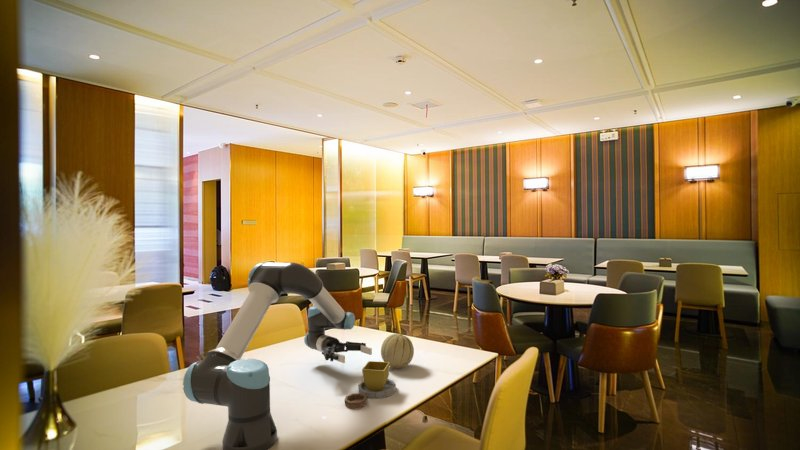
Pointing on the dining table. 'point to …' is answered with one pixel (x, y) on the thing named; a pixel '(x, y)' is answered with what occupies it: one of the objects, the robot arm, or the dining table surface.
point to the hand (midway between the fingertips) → (358, 355)
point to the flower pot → (375, 375)
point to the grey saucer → (386, 391)
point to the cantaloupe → (397, 350)
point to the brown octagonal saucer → (355, 400)
